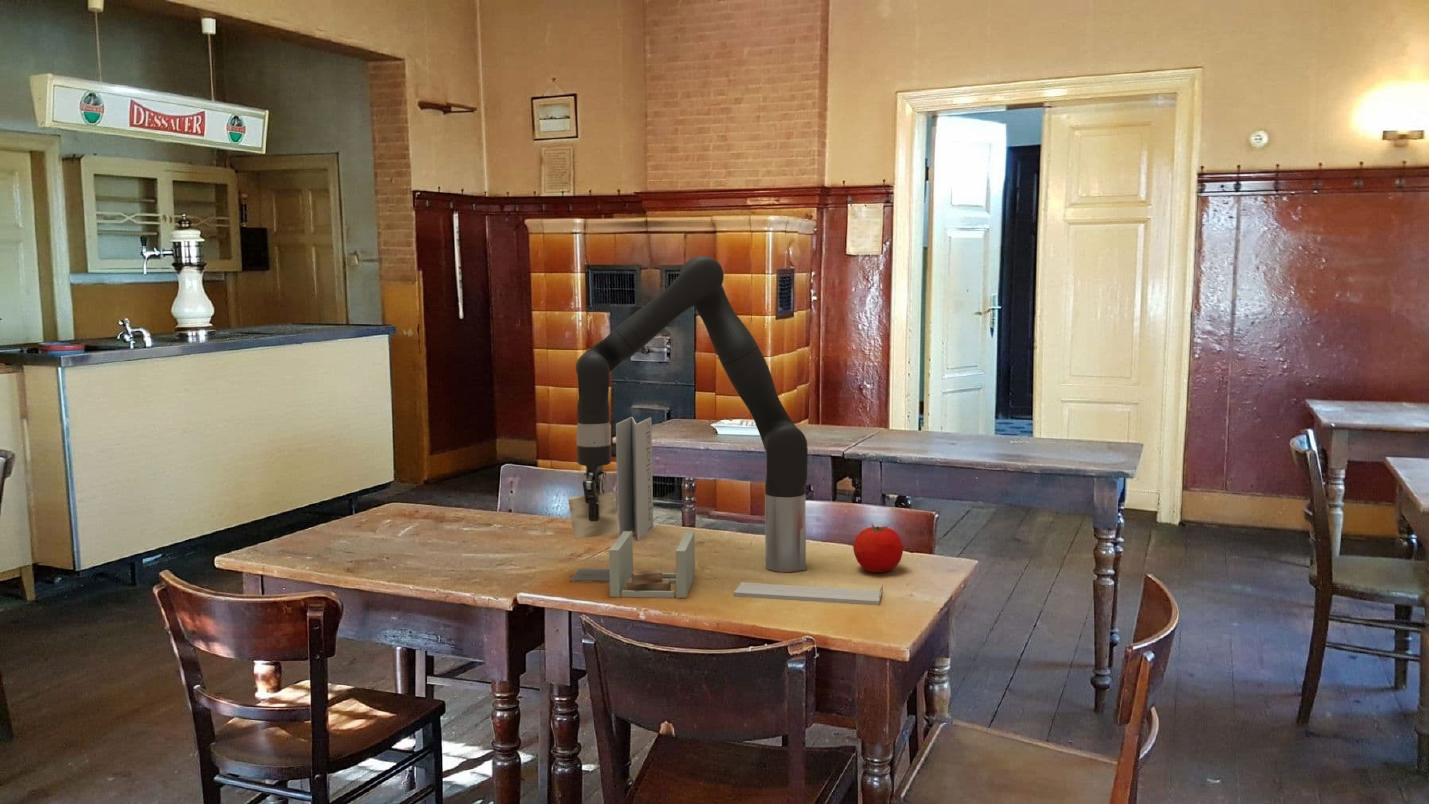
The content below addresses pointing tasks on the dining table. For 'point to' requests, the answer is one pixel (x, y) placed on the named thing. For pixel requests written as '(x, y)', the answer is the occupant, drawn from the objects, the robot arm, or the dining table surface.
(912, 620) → the dining table surface
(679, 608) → the dining table surface
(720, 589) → the dining table surface
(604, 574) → the mat
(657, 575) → the offcut top
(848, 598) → the baseboard
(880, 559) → the tomato
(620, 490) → the brochure
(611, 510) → the tan wooden slab
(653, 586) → the offcut bottom
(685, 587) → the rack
